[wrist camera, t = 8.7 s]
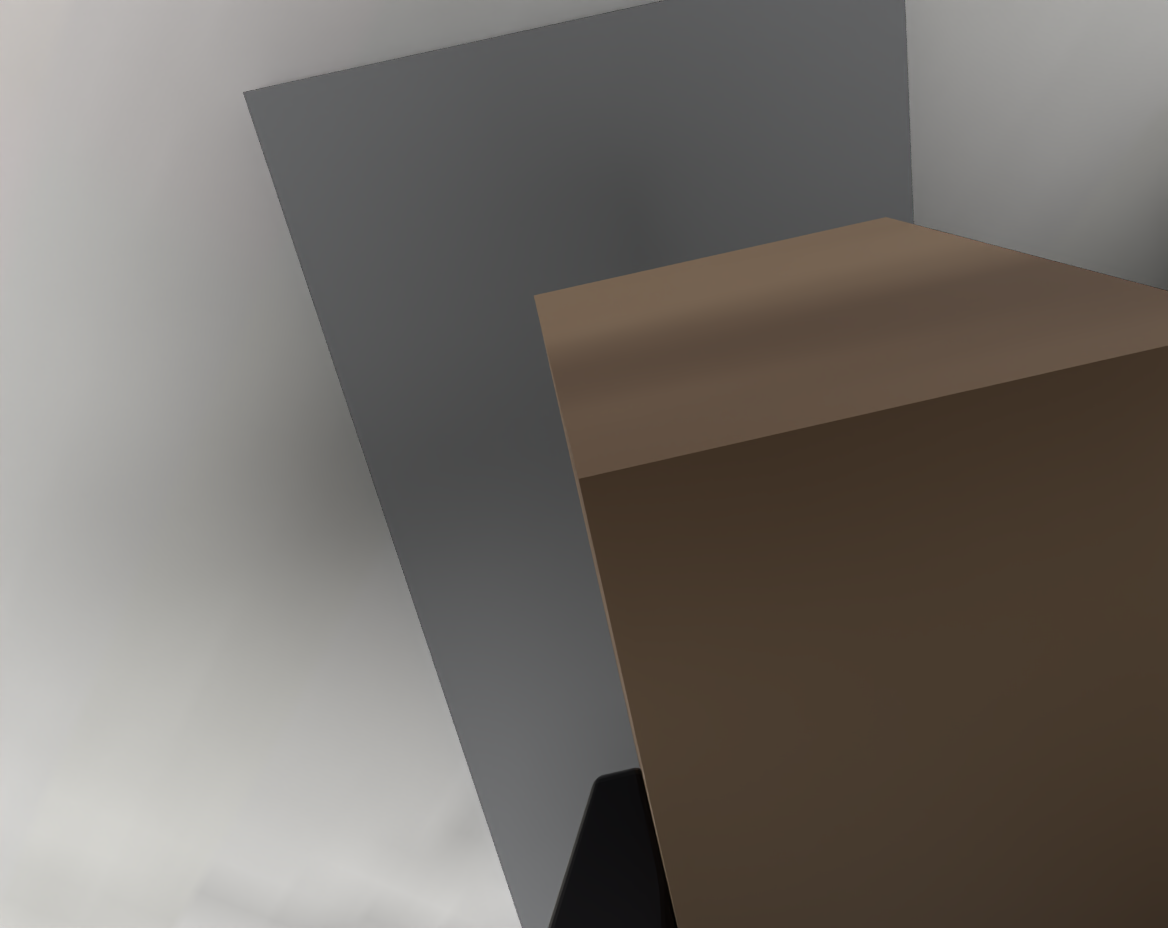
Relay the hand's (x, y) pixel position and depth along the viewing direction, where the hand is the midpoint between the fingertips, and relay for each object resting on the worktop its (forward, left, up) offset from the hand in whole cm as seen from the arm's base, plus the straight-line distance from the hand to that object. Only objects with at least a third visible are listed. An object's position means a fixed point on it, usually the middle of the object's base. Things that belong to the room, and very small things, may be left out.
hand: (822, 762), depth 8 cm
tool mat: (0, +5, -8) cm, 10 cm away
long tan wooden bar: (0, +5, -1) cm, 6 cm away
